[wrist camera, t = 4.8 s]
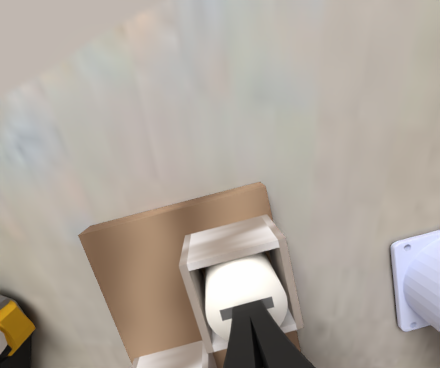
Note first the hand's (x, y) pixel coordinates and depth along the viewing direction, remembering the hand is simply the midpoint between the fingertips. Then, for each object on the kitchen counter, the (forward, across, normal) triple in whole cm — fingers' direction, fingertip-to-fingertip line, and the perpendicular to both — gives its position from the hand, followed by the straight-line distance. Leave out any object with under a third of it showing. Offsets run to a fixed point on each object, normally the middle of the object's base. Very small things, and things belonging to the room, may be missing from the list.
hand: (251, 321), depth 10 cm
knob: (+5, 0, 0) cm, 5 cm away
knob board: (+6, +3, +4) cm, 8 cm away
